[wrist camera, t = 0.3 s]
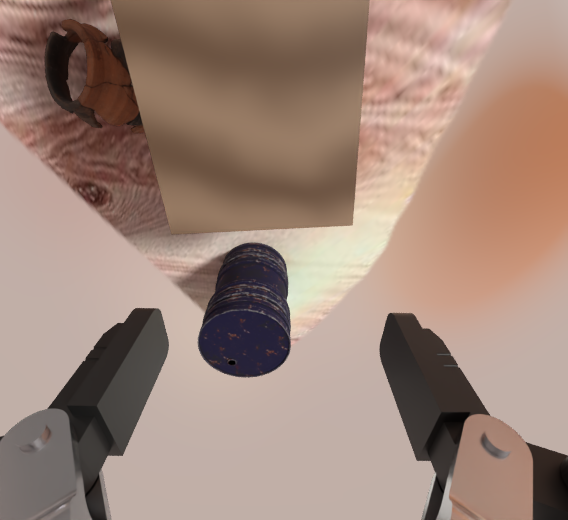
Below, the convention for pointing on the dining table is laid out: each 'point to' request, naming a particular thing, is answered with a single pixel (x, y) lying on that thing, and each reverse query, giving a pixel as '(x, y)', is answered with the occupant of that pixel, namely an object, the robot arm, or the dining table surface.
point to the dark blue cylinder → (248, 314)
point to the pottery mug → (93, 77)
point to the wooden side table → (249, 108)
